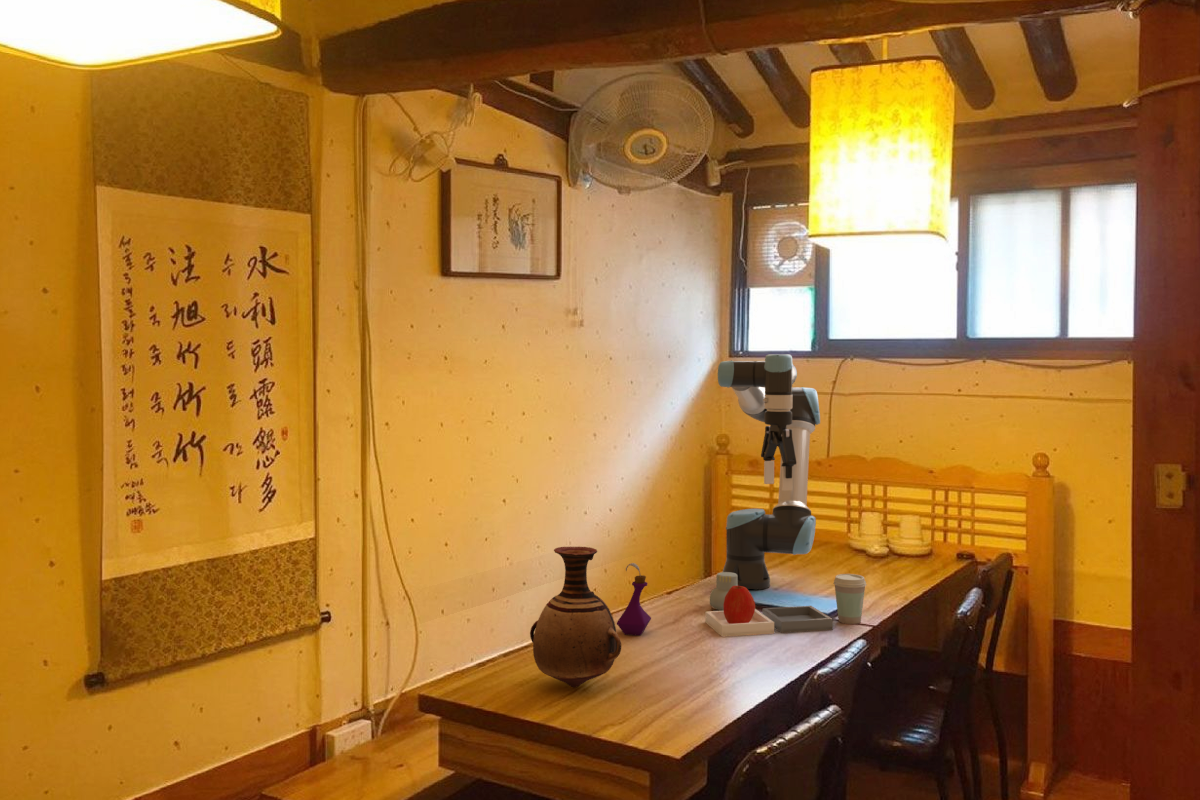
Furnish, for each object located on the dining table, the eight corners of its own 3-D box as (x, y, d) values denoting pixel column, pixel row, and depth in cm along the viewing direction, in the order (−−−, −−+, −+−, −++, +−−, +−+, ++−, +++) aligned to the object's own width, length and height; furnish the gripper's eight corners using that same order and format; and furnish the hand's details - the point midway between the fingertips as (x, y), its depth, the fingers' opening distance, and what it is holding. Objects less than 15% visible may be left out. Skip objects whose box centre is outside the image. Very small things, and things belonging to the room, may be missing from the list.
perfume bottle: (651, 630, 267) (651, 561, 266) (645, 638, 259) (644, 567, 259) (623, 628, 269) (623, 560, 268) (616, 635, 261) (616, 565, 261)
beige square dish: (705, 622, 274) (705, 611, 274) (755, 619, 277) (755, 608, 277) (722, 636, 260) (722, 625, 260) (774, 633, 263) (774, 622, 263)
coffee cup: (866, 626, 270) (867, 581, 269) (833, 624, 271) (833, 579, 271) (865, 617, 278) (865, 574, 278) (832, 616, 280) (833, 572, 279)
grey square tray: (762, 619, 277) (762, 608, 277) (810, 616, 280) (811, 605, 280) (781, 633, 264) (781, 621, 263) (832, 629, 266) (832, 618, 266)
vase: (511, 684, 224) (510, 548, 222) (572, 666, 236) (572, 537, 235) (579, 708, 209) (578, 562, 207) (640, 687, 221) (640, 549, 220)
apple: (759, 622, 270) (759, 582, 270) (747, 630, 263) (747, 588, 263) (730, 618, 275) (730, 579, 274) (717, 626, 268) (718, 585, 267)
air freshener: (737, 615, 281) (737, 579, 281) (708, 613, 284) (708, 577, 284) (745, 606, 292) (745, 571, 291) (716, 603, 294) (716, 569, 294)
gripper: (749, 407, 294) (749, 481, 295) (782, 413, 270) (781, 493, 271) (774, 407, 296) (774, 480, 297) (809, 412, 271) (808, 492, 272)
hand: (777, 487), depth 284 cm, fingers open, 13 cm apart
